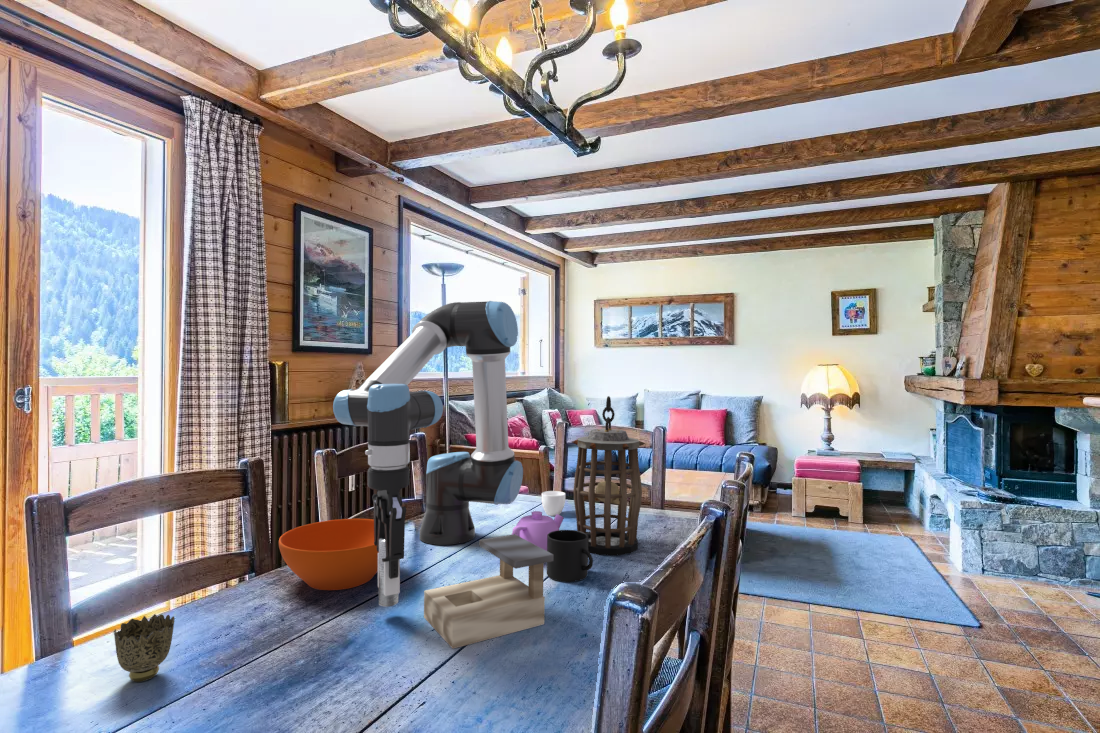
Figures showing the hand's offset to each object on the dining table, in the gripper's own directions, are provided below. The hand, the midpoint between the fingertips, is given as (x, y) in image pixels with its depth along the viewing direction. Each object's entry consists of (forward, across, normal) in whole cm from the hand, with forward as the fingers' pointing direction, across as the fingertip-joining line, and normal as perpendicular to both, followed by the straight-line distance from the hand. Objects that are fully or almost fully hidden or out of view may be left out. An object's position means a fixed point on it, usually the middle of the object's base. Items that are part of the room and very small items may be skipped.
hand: (388, 589), depth 107 cm
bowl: (+6, -25, -4) cm, 25 cm away
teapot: (+6, -18, +44) cm, 47 cm away
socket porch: (+5, +11, +14) cm, 19 cm away
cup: (+7, -49, +68) cm, 84 cm away
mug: (+6, 0, +42) cm, 42 cm away
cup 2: (+5, +2, -38) cm, 38 cm away
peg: (+2, 0, 0) cm, 2 cm away
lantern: (+6, -14, +62) cm, 64 cm away
